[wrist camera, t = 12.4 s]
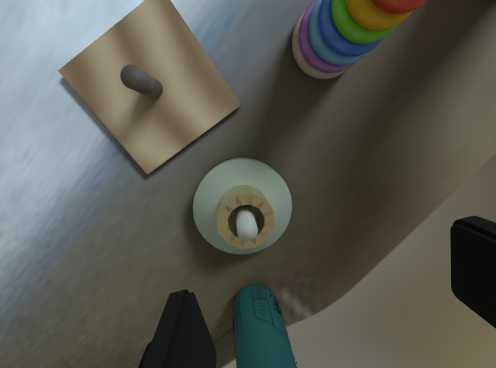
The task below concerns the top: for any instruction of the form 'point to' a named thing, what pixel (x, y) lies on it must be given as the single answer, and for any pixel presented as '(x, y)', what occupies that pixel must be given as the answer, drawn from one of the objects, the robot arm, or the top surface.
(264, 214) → the brass ring
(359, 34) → the stacking toy
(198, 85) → the oak stand
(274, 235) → the sage hub
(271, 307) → the beverage bottle
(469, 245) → the robot arm
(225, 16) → the top surface
